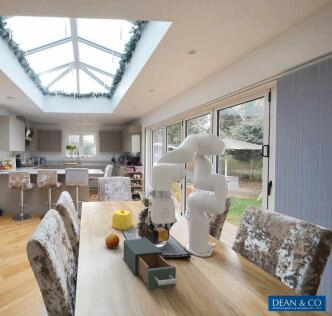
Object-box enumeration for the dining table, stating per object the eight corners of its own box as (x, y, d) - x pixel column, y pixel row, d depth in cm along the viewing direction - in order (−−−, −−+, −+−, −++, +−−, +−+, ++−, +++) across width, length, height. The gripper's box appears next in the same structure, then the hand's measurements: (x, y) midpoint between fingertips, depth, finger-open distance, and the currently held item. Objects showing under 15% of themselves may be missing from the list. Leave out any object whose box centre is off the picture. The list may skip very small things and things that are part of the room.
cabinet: (161, 272, 90) (162, 251, 90) (134, 275, 88) (135, 254, 88) (146, 256, 105) (147, 238, 105) (123, 258, 102) (123, 240, 102)
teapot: (124, 232, 136) (124, 214, 136) (107, 229, 142) (108, 212, 142) (134, 223, 153) (134, 208, 153) (119, 221, 160) (119, 206, 159)
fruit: (122, 248, 110) (114, 234, 111) (109, 254, 112) (102, 241, 112) (123, 241, 118) (116, 229, 119) (111, 247, 119) (104, 235, 120)
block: (162, 236, 87) (162, 227, 87) (167, 240, 83) (168, 230, 83) (153, 237, 86) (154, 228, 86) (158, 241, 82) (159, 231, 82)
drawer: (182, 293, 75) (182, 274, 75) (153, 297, 73) (154, 277, 73) (158, 267, 93) (158, 251, 92) (134, 270, 90) (134, 253, 90)
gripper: (146, 196, 79) (145, 244, 79) (185, 195, 82) (184, 241, 82) (138, 193, 86) (137, 236, 86) (174, 192, 89) (173, 234, 90)
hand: (160, 238), depth 84 cm, fingers closed on block, 4 cm apart
